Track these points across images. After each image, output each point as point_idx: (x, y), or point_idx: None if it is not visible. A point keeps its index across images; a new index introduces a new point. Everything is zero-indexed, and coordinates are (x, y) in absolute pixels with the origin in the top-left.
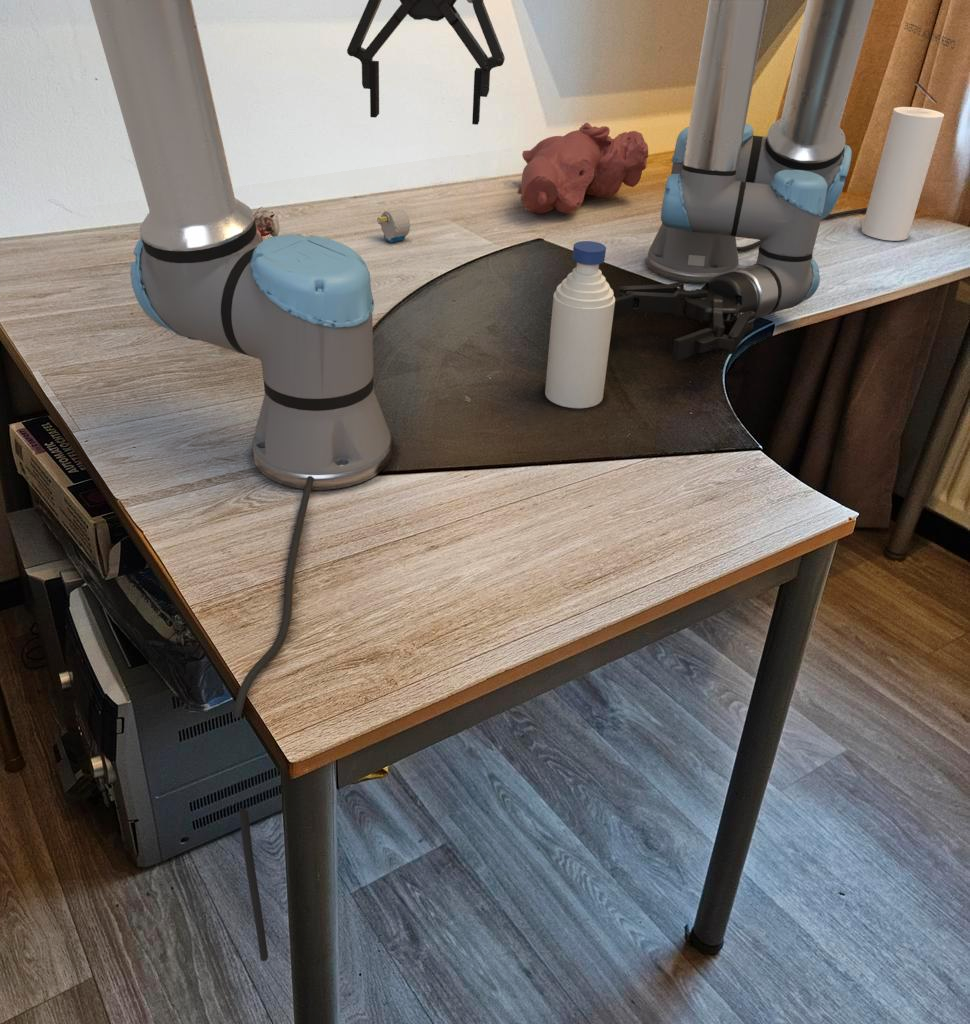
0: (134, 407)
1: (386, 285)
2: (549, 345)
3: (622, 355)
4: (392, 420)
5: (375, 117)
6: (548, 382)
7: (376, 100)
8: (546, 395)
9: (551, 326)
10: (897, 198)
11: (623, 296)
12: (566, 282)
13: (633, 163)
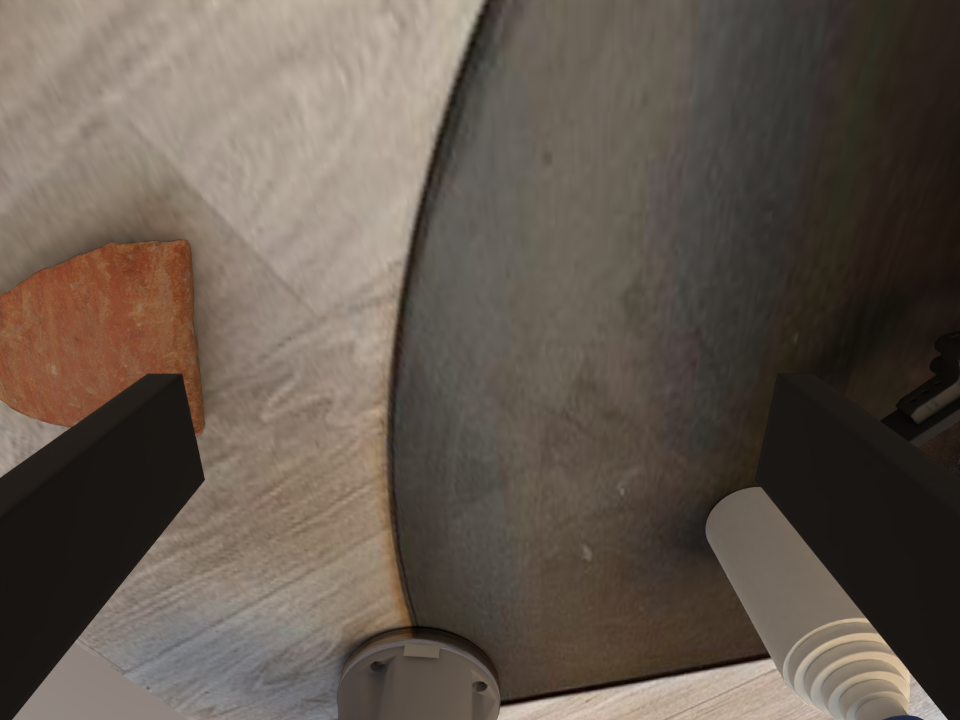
0: (151, 623)
1: (368, 80)
2: (739, 589)
3: (874, 380)
4: (487, 613)
5: (201, 478)
6: (716, 555)
7: (152, 514)
8: (706, 536)
9: (755, 620)
10: None
11: (953, 413)
12: (821, 686)
13: None
